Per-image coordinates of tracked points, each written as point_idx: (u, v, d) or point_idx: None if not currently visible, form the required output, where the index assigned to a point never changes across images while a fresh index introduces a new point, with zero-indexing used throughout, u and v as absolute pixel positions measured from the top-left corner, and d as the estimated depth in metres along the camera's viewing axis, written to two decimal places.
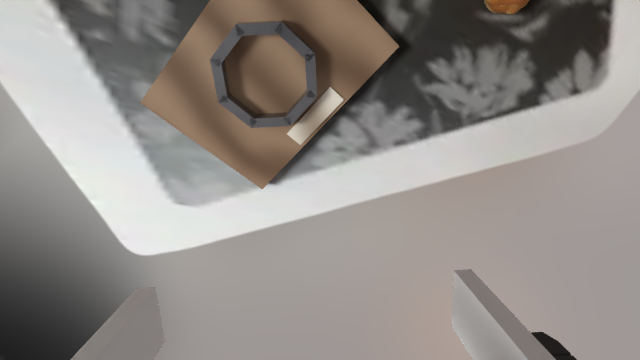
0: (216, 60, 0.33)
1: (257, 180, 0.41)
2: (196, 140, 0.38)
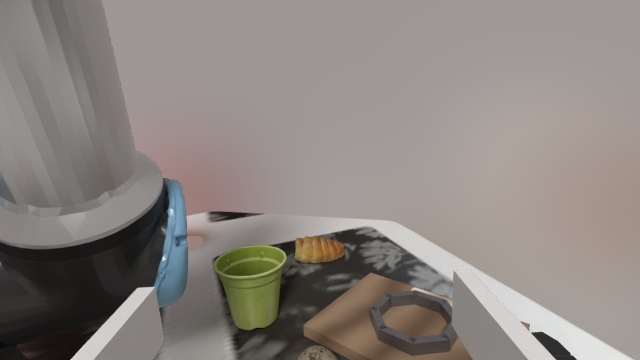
0: (411, 339, 0.37)
1: None
2: None
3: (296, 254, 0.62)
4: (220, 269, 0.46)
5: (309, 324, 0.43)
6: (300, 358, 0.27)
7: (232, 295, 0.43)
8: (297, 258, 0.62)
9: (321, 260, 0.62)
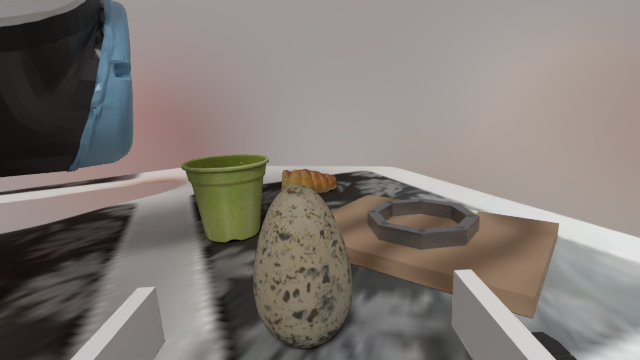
0: (419, 230, 0.30)
1: (550, 225, 0.34)
2: (544, 258, 0.27)
3: (283, 185, 0.55)
4: None
5: None
6: (275, 198, 0.20)
7: (203, 198, 0.36)
8: None
9: None
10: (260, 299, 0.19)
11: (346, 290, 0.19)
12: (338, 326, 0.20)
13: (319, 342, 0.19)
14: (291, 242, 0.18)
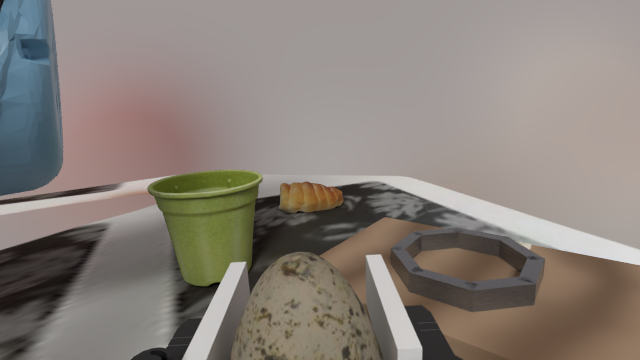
0: (469, 285, 0.22)
1: (638, 271, 0.25)
2: None
3: (281, 201, 0.47)
4: None
5: None
6: (261, 277, 0.11)
7: (176, 230, 0.28)
8: (283, 206, 0.47)
9: (314, 208, 0.47)
10: None
11: None
12: None
13: None
14: None
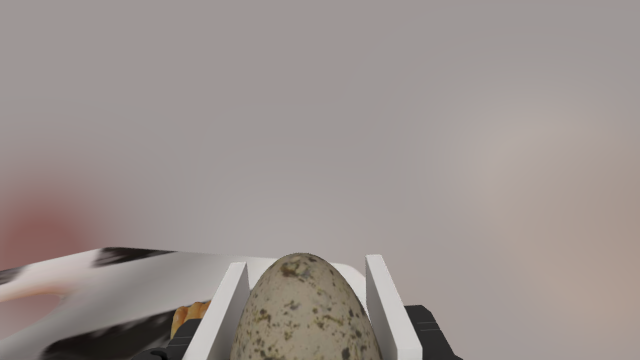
0: None
1: None
2: None
3: None
4: None
5: None
6: (261, 278, 0.11)
7: None
8: None
9: None
10: None
11: None
12: None
13: None
14: None
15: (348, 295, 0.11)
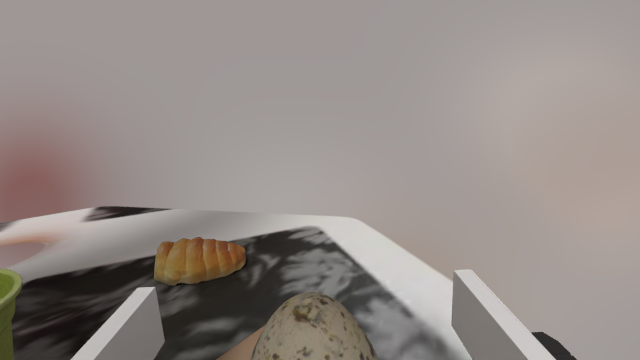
0: None
1: None
2: None
3: (155, 271, 0.35)
4: None
5: None
6: (272, 319, 0.11)
7: None
8: (157, 278, 0.35)
9: (201, 277, 0.36)
10: None
11: None
12: None
13: None
14: None
15: (359, 338, 0.11)
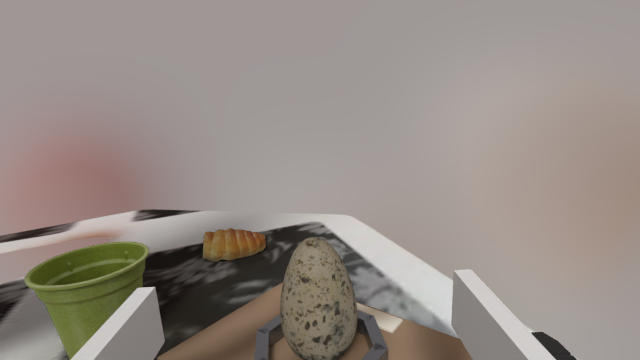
0: None
1: None
2: None
3: (204, 251, 0.50)
4: (48, 276, 0.32)
5: (166, 356, 0.29)
6: (297, 248, 0.26)
7: (52, 315, 0.29)
8: (205, 256, 0.49)
9: (236, 255, 0.50)
10: (287, 327, 0.25)
11: (352, 319, 0.25)
12: (347, 347, 0.25)
13: None
14: (310, 284, 0.24)
15: (334, 254, 0.25)
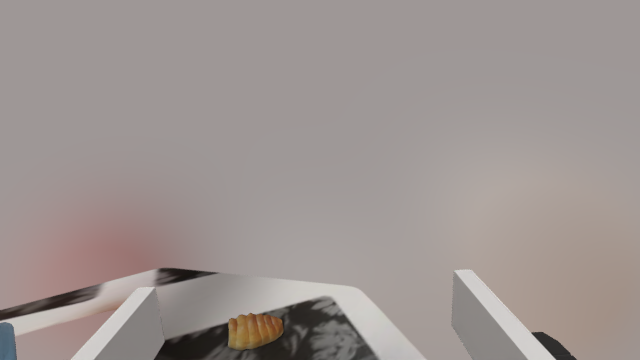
0: None
1: None
2: None
3: (230, 342, 0.55)
4: None
5: None
6: None
7: None
8: (231, 346, 0.55)
9: (259, 344, 0.56)
10: None
11: None
12: None
13: None
14: None
15: None
